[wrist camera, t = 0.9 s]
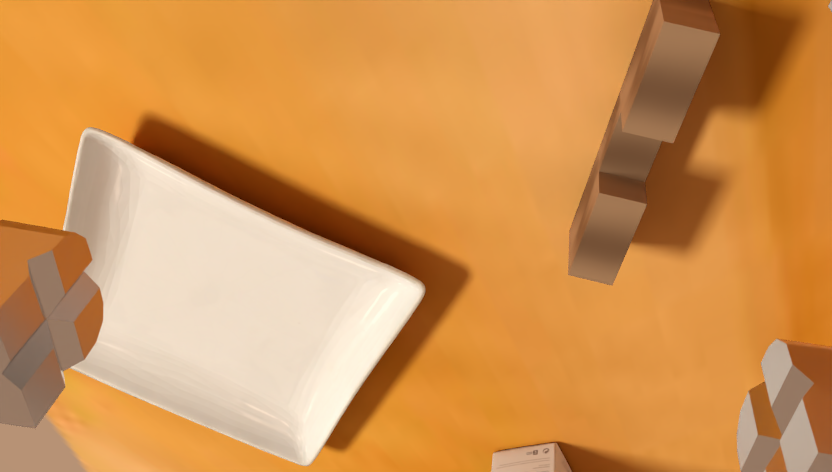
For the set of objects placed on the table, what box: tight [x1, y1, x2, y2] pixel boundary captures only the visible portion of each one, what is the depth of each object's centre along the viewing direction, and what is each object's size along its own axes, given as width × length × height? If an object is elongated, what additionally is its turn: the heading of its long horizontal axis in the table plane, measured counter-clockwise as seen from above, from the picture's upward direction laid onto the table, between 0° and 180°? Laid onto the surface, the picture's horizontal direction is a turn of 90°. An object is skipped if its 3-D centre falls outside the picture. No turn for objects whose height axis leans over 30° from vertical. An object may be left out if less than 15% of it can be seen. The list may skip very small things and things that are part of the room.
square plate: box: [63, 127, 426, 466], centre depth 65 cm, size 27×27×4 cm
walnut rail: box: [568, 0, 720, 285], centre depth 49 cm, size 18×3×5 cm, turn 170°
